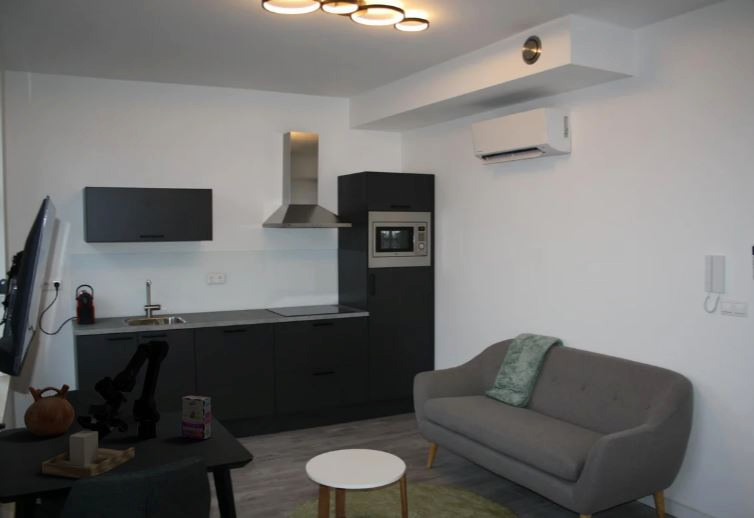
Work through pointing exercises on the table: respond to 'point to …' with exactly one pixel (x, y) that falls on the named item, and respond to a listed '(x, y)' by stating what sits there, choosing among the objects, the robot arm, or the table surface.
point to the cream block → (83, 448)
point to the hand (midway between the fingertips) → (91, 445)
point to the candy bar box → (196, 417)
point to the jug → (49, 413)
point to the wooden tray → (100, 466)
